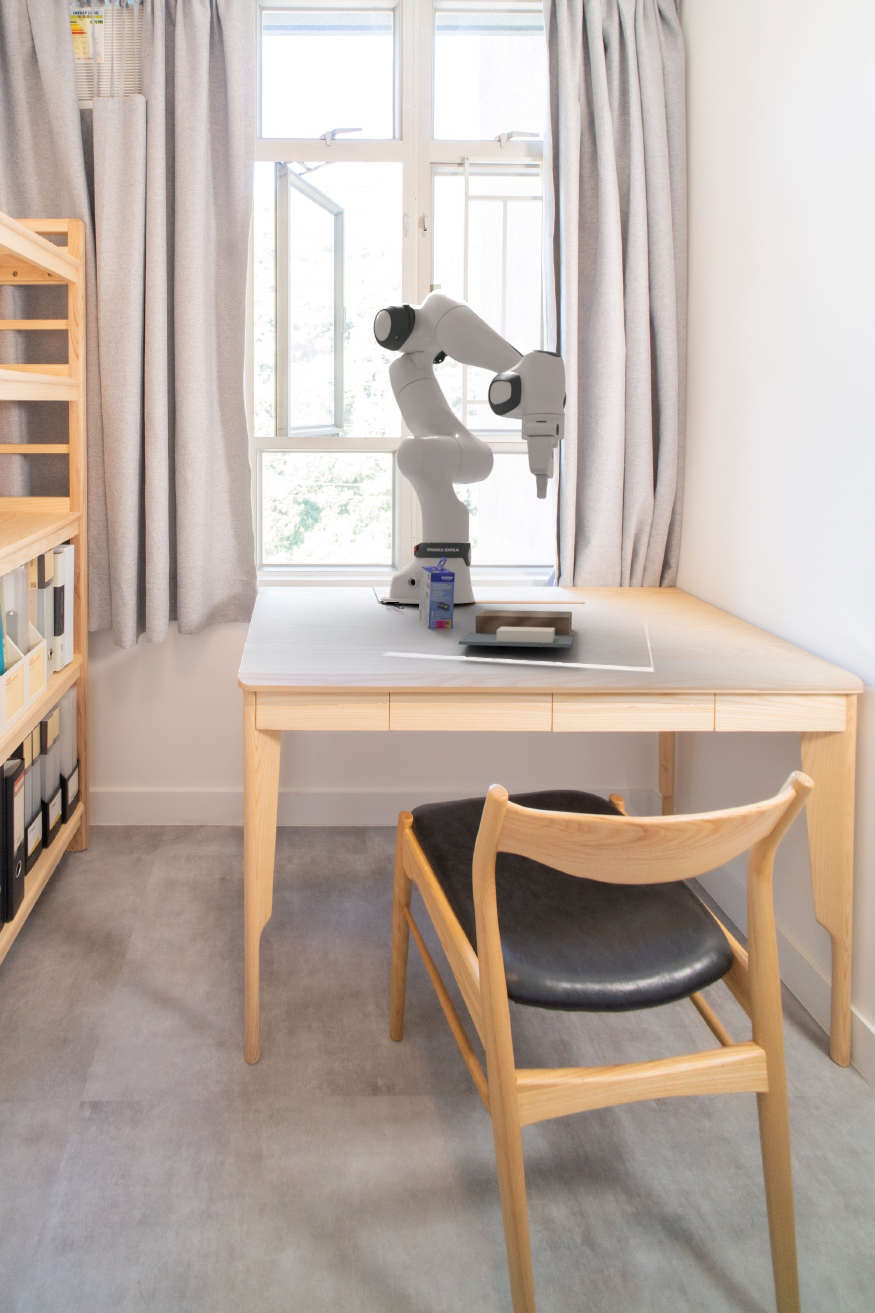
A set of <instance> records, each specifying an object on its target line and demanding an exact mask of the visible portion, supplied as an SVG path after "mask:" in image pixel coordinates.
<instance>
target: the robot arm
mask: <svg viewBox="0 0 875 1313" xmlns="http://www.w3.org/2000/svg"><path fill="white" fill-rule="evenodd" d="M373 334H374V338H375V341H376V342H377V344H378V345H379V346H380V347H381V348H384V349H386V350H388V351H392V352H396V351H397V352H398V354H397V355H396V356H395V357H394V358H393V359H392V360H391V362H390V364H389V367H388V374H389V381H390V386H391V390H392V393H393V396H394V398H395V401H396V403H397V406H398V409H399V411H400V412H401V413H400V414H401V415H402V419H403V420H404V423H405V425H406V428H407V429H408V430H409V431H410V433H412V434H413V435H410V436H407V437H405V438H404V439H403V440H402V441H401V443H400V444H399V446H398V449H397V453H396V464H397V466H398V470H399V471H400V473H401V475H403V477H404V478H406V479H407V480H408V481H409V482H410V484H411V485H412V487H413V489H414V491H415V493H416V495H417V496H416V497H417V499H418V500H419V506H420V511H421V522H422V523H421V524H422V527H421V528H422V542H420V543H418V544H416V545H414V546H413V556H414V557H415V558H413V559H411V561H410V562H408V563H407V564H406V565H405V566H404V567H402V568H401V569H399V570H398V571H397V572H396V573H395V574H393V577H392V578H391V581H390V582H391V583H390V589H389V595H388V596H389V597H383V596H381V597H380V601H381V600H382V601H396V602H399V603H398V604H417V605H419V600H420V579H421V567H427V566H437V565H438V563H439V561H440V560H441V558H442V557H444V558H446V559H447V561H446V563H445V564H444V566H443V567H445V568H446V569H448V570H450V571H452V572H454V573H455V582H454V603H453V604H465V603H466V604H468V603H474V602H476V598H475V596H474V591H473V585H472V579H471V571H470V569H471V568H470V566H471V565H472V564H471V563H472V548H471V546H472V544H471V542H470V511H469V508H468V506H467V505H466V504H465V503H464V502H462V500H460V499H459V498H458V496H457V494H456V492H455V489H454V486H453V484H458V485H459V484H460V485H469V484H474V483H479V482H483V481H485V480H486V479H488V477H489V476H490V474H491V473H492V471H493V468H494V463H495V462H494V461H495V460H494V453H493V451H492V449H491V447H490V446H489V444H488V443H486V442H485V441H483V440H481V439H480V438H478V437H477V436H476V435H474V434H473V433H472V432H471V431H470V430H469V429H468V428H467V427H466V425H465V424H463V422H462V421H461V420H460V419H459V418H458V417H457V416H456V414H455V413H454V412H453V410H452V409H451V407H450V405H449V403H448V401H447V399H446V397H445V394H444V392H443V390H442V388H441V385H440V383H439V382H438V379H437V376H436V375H435V372H434V370H433V365H439V364H442V363H443V362H444V361H445V360H446V357H450V358H451V359H452V360H454V361H455V362H458V363H460V364H463V365H466V366H471V367H472V366H473V367H475V368H480V369H485V370H489V371H492V372H494V373H497V374H496V375H495V376H494V378H493V379H492V380H491V381H490V384H489V387H488V391H487V392H488V393H487V400H488V404H489V406H490V407H489V408H490V409H491V411H492V412H493V413H494V414H495V415H496V416H500V417H501V418H506V419H513V420H514V419H515V420H521V440H523V441H526V444H527V456H528V468H529V471H530V474H532V475H533V476H534V477H535V483H536V497H537V498H538V499H540V500H545V499H546V498H547V493H548V492H547V490H548V484H549V479H553V478H554V470H555V469H554V468H555V466H554V464H555V463H554V459H555V458H554V456H555V453H554V449H556V448H557V449H558V447H559V441H563V440H565V426H566V424H565V417H566V416H565V415H566V414H565V408H566V404H567V392H566V368H565V362H564V359H563V356H562V355H560V354H559V353H557V352H554V351H549V350H543V349H542V350H541V349H532V350H528V351H526V353H525V354H522V353H521V352H520V351H519V350H518V349H517V348H515V347H514V345H512V344H510V343H509V341H507V340H506V339H504V338H503V337H502V336H501V335H500V334H499V333H498V332H497V331H495V330H494V329H493V328H492V327H491V326H490V325H489V324H488V323H487V322H486V321H485V320H484V319H483V318H482V317H481V316H480V315H479V314H478V313H477V312H476V311H475V310H474V309H473V307H471V306H470V305H469V304H468V303H467V301H465V300H464V299H463V298H461V297H460V296H458V295H457V294H456V293H454V292H453V291H451V290H448V289H444V288H443V289H436V290H433V291H432V292H430V293H429V294H428V295H427V296H426V297H425V299H424V300H423V302H422V304H421V305H415V304H409V303H403V302H402V303H400V302H397V303H389V304H386V305H382V306H381V308H379V310H378V312H376V314H375V318H374V320H373ZM442 564H443V561H442V562H441V565H442Z"/></svg>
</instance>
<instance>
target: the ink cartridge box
mask: <svg viewBox="0 0 875 1313" xmlns="http://www.w3.org/2000/svg"><path fill="white" fill-rule="evenodd" d="M442 561H443V564H442V565H441V562H442ZM446 561H447V559H446V558H444V557H442V558H441V560H440V561H439V563H438V565H437V566H427V567H421V579H420V600H419V604H418V605H419V607H418V621H419V622H421V623H422V625H423V626H425V627H426V628H427V629H429V630H430V629H431V630H432V629H433V630H435V629H438V630H439V629H453V626H454V625H453V624H454V623H453V622H454V604H455V603H454V582H455V573H454V572H452V571H450V570H448V569H446V568H445V567H443V566H444V564H445V563H446Z"/></svg>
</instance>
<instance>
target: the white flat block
mask: <svg viewBox="0 0 875 1313" xmlns="http://www.w3.org/2000/svg"><path fill="white" fill-rule="evenodd" d="M554 639H555V628H542V627H500V628H499V629H497V638H496V641H504V642H543V643H553V641H554Z"/></svg>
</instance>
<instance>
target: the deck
mask: <svg viewBox="0 0 875 1313" xmlns="http://www.w3.org/2000/svg"><path fill="white" fill-rule="evenodd" d="M572 621H573V611H564V610H563V611H560V610H559V611H558V610H557V611H556V610H555V611H554V610H553V611H552V610H551V611H550V610H547V611H546V610H542V611H541V610H509V609H508V610H507V609H506V610H505V609H504V610H503V609H500V610H499V609H484V610H482V611H480V612H479V613H478V614H476V615H475V632H474V633H497V629H499V628H500V627H542V628H555V635H572V634H571V633H572V626H573V624H572V623H573V622H572Z"/></svg>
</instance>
